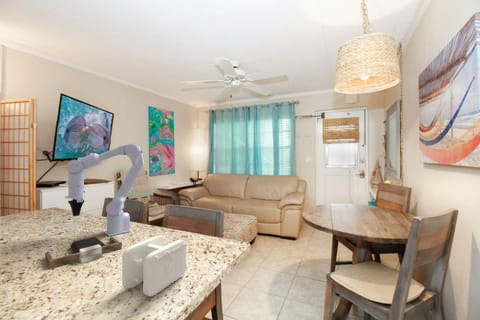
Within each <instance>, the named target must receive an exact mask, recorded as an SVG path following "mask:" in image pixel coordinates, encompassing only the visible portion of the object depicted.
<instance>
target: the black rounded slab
mask: <svg viewBox="0 0 480 320" xmlns="http://www.w3.org/2000/svg"><path fill="white" fill-rule="evenodd" d="M95 245H100V246H101V247H102V246H106V244H105V243H104V242H103V241H102V240H100V239H99V238H98V237H96V236H92V237H87V238H83V239H77V240H74V241H72V242H71V244H70V245H69V247H70V249H71V250H72V251H71V254H75V253H79V252H80V249H83V248H87V247H91V246H95Z"/></svg>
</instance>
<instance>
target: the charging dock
mask: <svg viewBox="0 0 480 320" xmlns="http://www.w3.org/2000/svg"><path fill="white" fill-rule="evenodd" d="M109 243H110V244H107V245H106V244H105V245H106V246H102V247H101V246H100V245H95V246H91V247H87V248H83V249H80V252H79V253H75V254H72V253H71V254H68V255H64V256H60V257H56V258H53V257H52V255H51V253H50V251H46V252H44V256H45V257H44V258H45V261H46V263H47V265H48V268H49V269H50V270H51V269H54V268H58V267H61V266H65V265H69V264H72V263H76V262H80V263H81V264H86V263H88V262H91V261H94V260H98V259H101V258H102V255H105V254H107V253H111V252H115V251H119V250H122V249H123V243H122V241H119V240H117V239H116V238H115V237H114V236H109Z"/></svg>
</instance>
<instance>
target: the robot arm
mask: <svg viewBox="0 0 480 320" xmlns="http://www.w3.org/2000/svg"><path fill="white" fill-rule="evenodd" d="M117 156H127V157H128V158H129V160H130V162H131V163H132V164H131V165H132V166H131V167H130V169H129V171H128V172H127V174H126V177H125V178H124V180H123V182H122V184H121V185H120V186H119V189H118V191H117V193H116V194H115V196H114V197H113V198H112V201H110V202H109V203H108V204H107V205H106V207H105V212H106V230H104V231H103V233H104V234H105V235H106V236H109V237H113V236H115V235H117V236H118V235H121V234H125V233H129V232H131V225H130V223H131V221H130V220H131V217H130V214H129V213H128V212H127V211H126V212H124V210H123V209H124V208H125V203H126V202H125V201H126V199H127V198H128V195H129V193H130V192H131V190H132V188H133V186H134V184H135V183H136V180H137V179H138V178H139V175H140V174H141V171H142V170H143V168H144V166H145V161H144V152H143V150H142V148H141V147H140V145H138V144H135V143H129V144H125V145H120V146H117V147H115V148H113V149H110V150H107V151H105V152H102V153H99V154H98V153H95V152H94V153H93V152H90V153H88V155H86V156H83V157H78V158H77V160H76V159H72V160H69V162H67V163H66V166H65V168H66V170H67V172H68V184H67V185H68V195H67V196H65V197H64V198H65V199H69V200H68V201H67V202H68V204H69V206H70V209H71V213H72V216H73V217H78V216H80V215H81V211H82V207H83V205H84V203H85V200H84V198H85V192H84V191H85V190H84V189H85V179H84V178H85V176H84V175H85V174H84V172H85V171H86V170H89V169H91V168H95V167H96V166H99V165H101V164H102V162H103V161H105V160H107V159H111V158H115V157H117Z"/></svg>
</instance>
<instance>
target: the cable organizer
mask: <svg viewBox="0 0 480 320" xmlns="http://www.w3.org/2000/svg"><path fill="white" fill-rule="evenodd" d="M165 240H166V239H165V237H164V236H162V235H156V236H153V237H151V238H148V239H146V240H143V241H141V242H138V243H136V244H134V245H130V246H129V247H127V248H126V249H124V251H123V253H122V256H121V261H122V262H121V263H122V266H121V268H122V269H121V273H122V275H121V281H122V282H121V283H122V286H123V287H124V288H127V289H134V288H135V287H138V286H140V284H141V283H142V282H143V283H142V287H143V289H142V290H143V291H142V293H143V294H144V295H145V296H148V297H154V295H155V296H157V295H158V294H159V293H161V292H162V291H163V290H164V289H166V288H167V287H168V286H169V285H171V283H172V284H174V281H175V282H176V281H178V280H179V278H181V277H182V276H183V275H184V274H185V273H186V271H187V242H186V240H182V239H178V240H175V241H172V242H170V243H168V244H165V243H166V242H165ZM157 293H158V294H157Z"/></svg>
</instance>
